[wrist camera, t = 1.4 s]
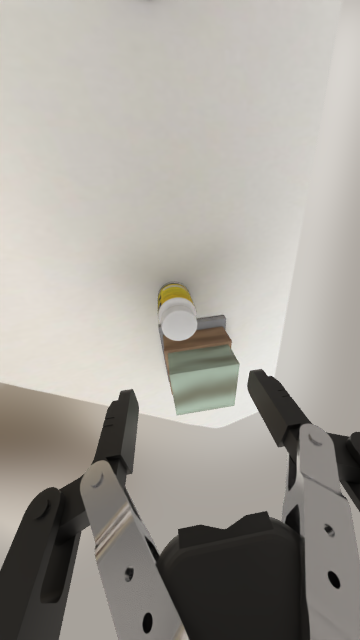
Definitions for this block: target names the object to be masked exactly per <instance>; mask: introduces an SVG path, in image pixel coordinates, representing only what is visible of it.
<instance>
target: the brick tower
mask: <svg viewBox="0 0 360 640" xmlns="http://www.w3.org/2000/svg"><path fill="white" fill-rule="evenodd" d="M231 343H232V341H231V339H230V338H229V336H228V334H227V333H226V331H225V330H224V328H223V326H222V327H215V328H208V329H201V330H196V331H195V333H194V334H193V335H192V336H191V337H190V338H188V339H186V340H182V341H174V340H171V339H169V338H167V337H166V336H165V335H163V344H164V355H165V360H166V365H167V371H168V376H169V381H170V387H171V392H172V395H173V397H174V403H175V408H176V414H177V415H182V414H188V413H194V412H200V411H206V410H212V409H217V408H223V407H229V406H234V404H235V396H236V388H237V380H238V372H239V362H238V360H237V359H236V357H235V355H234V353H233V352H232V350H231Z"/></svg>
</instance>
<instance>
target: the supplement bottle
mask: <svg viewBox="0 0 360 640" xmlns="http://www.w3.org/2000/svg"><path fill="white" fill-rule="evenodd" d="M196 316H197V313H196V309H195V306H194V304H193V301H192V299H191V297H190V294H189V292H188V290H187V288H186V287H185V286H184V285H183V284H181V283H178V282H170V283H167V284H165V285H164V286H163V287H162V288H161V289H160V291H159V293H158V319H159V322H160V324H161V328H162V331H163V333H164V335H165V336H166V337H167V338H169V339H171V340H174V341H182V340H186V339H188V338H190V337H191V336H192V335H193V334H194V333H195V331H196V329H197V319H196Z"/></svg>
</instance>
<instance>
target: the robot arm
mask: <svg viewBox="0 0 360 640" xmlns="http://www.w3.org/2000/svg"><path fill="white" fill-rule="evenodd" d="M247 387H248V391H249V394H250V396H251V398H252V400H253V401H254V403H255V405H256V407H257V409H258V411H259V413H260V414H261V416H262V418H263V420H264V422H265V423H266V426H267V428H268V429H269V431H270V433H271V435H272V437H273V439H274V440H275V442H276V444H277V446H278V447H283V446H285V447H286V449H287V451H288V453H287V472H286V473H287V474H286V492H285V497H284V503H283V510H282V522H281V521H279V520H277V519H275V518H272V517H269V515H268V513H267V511H265V512H260V513H255V514H250V515H246V516H244V517H243V518H241V519H240V520H239V521H237V522H236V523H234V524H233V525H231V526H230V527H229V528H227V529H219V528H213V527H209V526H204V525H196V526H192V527H187V528H182V529H178V534H179V535H177V536H176V537H174V538H173V539H172V540H171V541H170V542H169V544H168V545H167V546H166V547H165V549H164V550H163V552H162V553H161V555H160V553H159V551H158V549H157V547H156V545H155V543H154V541H153V539H152V537H151V535H150V533H149V531H148V530H147V528H146V526H145V524H144V523H143V521H142V519H141V517H140V515H139V513H138V511H137V509H136V507H135V505H134V503H133V501H132V499H131V497H130V495H129V493H128V491H127V489H126V486H125V482H126V475H127V474H132V472H133V462H134V452H135V442H136V433H137V423H138V414H139V406H138V401H137V399H136V396H135V393H134V391H133V389H130V390H124V391H121V392H120V395H119V399H118V400H117V401H113V402H112V403H111V405H110V406H109V408H108V410H107V413H106V417H105V421H104V424H103V428H102V432H101V436H100V439H99V443H98V447H97V451H96V454H95V457H94V460H93V462H92V464H91V466H90V467H89V468H88V469H87V471H86V472H85V474H83V475H82V476H81V477H80V478H78V479H77V480H75V481H73V482H72V483H70V484H68V485H66V486H65V487H63V488H61V489H59V490H58V489H57V488H54V487H51V488H47V489H46V490H44V491H42V492H41V493H39V494H38V495H37V496H36V497H35V498H34V499H33V501H32V502H31V503H30V505H29V506H28V508H27V510H26V512H25V514H24V516H23V518H22V521H21V523H20V526H19V528H18V530H17V533H16V535H15V537H14V540H13V542H12V545H11V547H10V549H9V552H8V554H7V556H6V559H5V561H4V563H3V566H2V568H1V571H0V640H59V635H60V630H61V626H62V621H63V616H64V611H65V607H66V602H67V597H68V592H69V588H70V583H71V578H72V573H73V568H74V564H75V559H76V555H77V550H78V545H79V540H80V536H81V531H82V530H83V529H85V528H86V527H88V526H89V525H90V526H91V529H92V532H93V536H94V539H95V543H96V546H95V558H96V562H97V566H98V570H99V573H100V576H101V580H102V583H103V587H104V590H105V594H106V597H107V601H108V604H109V608H110V611H111V615H112V618H113V622H114V625H115V629H116V632H117V636H118V639H119V640H360V560H359V555H358V549H357V543H356V537H355V532H354V526H353V520H352V515H351V509H350V505H349V502H348V500H347V499H346V497H344V496H343V495H342V493H341V489H340V484H339V481H340V482H341V484H342V485H343V487H344V489H345V490H346V492H347V493H348V495H349V496H350V498H351V499H352V501H353V502H354V504H355V505H356V507H357V508H358V510H359V511H360V432H355V433H353V434H352V435H351V436H350V437H347V436H342V435H336V434H331V433H327V432H325V431H324V430H323V429H321V428H320V427H318V426H316V425H313V424H312V423H311V422H310V421H309V420H308V418H307V417H306V416H305V414H304V413H303V412H302V411H301V409H300V408H299V407H298V405H297V404H296V403H295V401H294V400H293V399H292V397H290V395H289V394H288V392H287V391H286V390H285V388H284V387H283V386H282V384H281V383H280V382H279V381H278V380H276V379H275V378H274V377H272V376H269V377H268V376H267V375H266V373H265V372H264V371H263V370H262V369H259V370H253V371H250V373H249V379H248V385H247Z"/></svg>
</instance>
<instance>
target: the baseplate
mask: <svg viewBox="0 0 360 640" xmlns="http://www.w3.org/2000/svg"><path fill="white" fill-rule="evenodd" d="M222 326H223V328H224V330H225V326H226V318H225V316H224V315H223V316H216V317H209V318H202V319H197V329H196V330H201V329H208V328H215V327H222ZM159 333H160V338H161V343H162V348H163V354H164V344H163V335H164V333H163V331H162V328H161V324H159ZM164 359H165V355H164ZM165 364H166V360H165ZM166 369H167V365H166ZM167 374H168V371H167ZM168 380H169V376H168ZM169 382H170V381H169Z"/></svg>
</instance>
